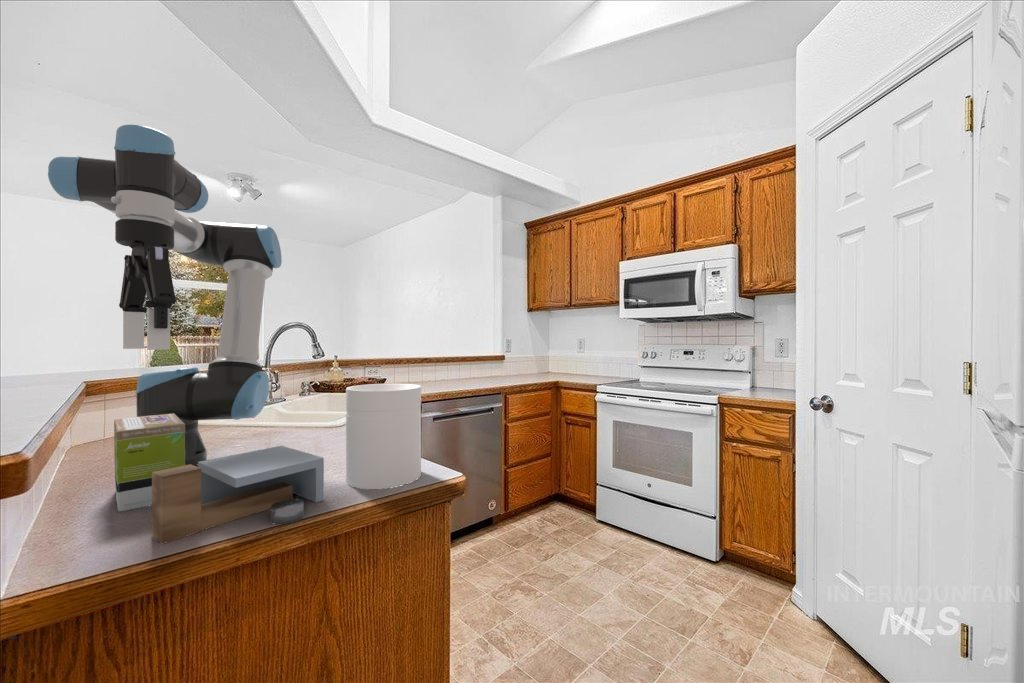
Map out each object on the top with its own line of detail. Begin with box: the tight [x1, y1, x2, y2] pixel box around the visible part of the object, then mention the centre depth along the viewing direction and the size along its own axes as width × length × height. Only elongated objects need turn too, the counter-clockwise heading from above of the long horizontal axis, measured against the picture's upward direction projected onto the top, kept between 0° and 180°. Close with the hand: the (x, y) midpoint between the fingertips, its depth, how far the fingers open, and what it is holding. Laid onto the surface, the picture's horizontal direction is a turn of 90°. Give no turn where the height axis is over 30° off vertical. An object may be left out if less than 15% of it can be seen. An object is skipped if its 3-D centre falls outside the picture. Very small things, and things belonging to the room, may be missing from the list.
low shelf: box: [197, 445, 325, 504], centre depth 79 cm, size 16×15×8 cm
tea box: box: [113, 413, 186, 513], centre depth 83 cm, size 15×10×15 cm
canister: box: [345, 382, 422, 490], centre depth 94 cm, size 16×16×20 cm
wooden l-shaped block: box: [151, 464, 294, 544], centre depth 73 cm, size 4×20×10 cm, turn 147°
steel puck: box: [269, 498, 305, 525], centre depth 72 cm, size 5×5×2 cm
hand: (145, 349), depth 72 cm, fingers open, 13 cm apart
